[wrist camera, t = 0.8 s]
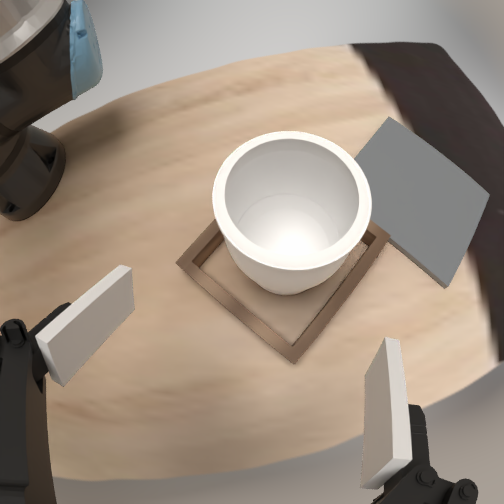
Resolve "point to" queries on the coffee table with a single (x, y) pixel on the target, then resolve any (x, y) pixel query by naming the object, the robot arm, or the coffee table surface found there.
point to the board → (421, 199)
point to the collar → (191, 264)
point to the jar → (290, 209)
